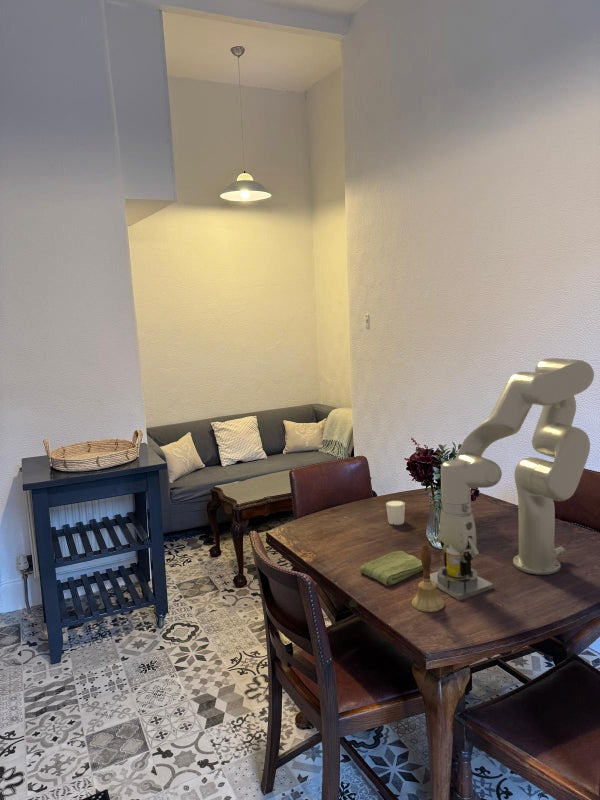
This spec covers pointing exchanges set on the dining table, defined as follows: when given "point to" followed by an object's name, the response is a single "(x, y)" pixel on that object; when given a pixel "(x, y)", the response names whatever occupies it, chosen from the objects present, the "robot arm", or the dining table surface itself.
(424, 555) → the hand bell
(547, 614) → the dining table surface
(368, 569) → the washcloth
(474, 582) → the grey octagonal holder base
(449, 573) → the supplement bottle
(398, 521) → the white tapered cup
